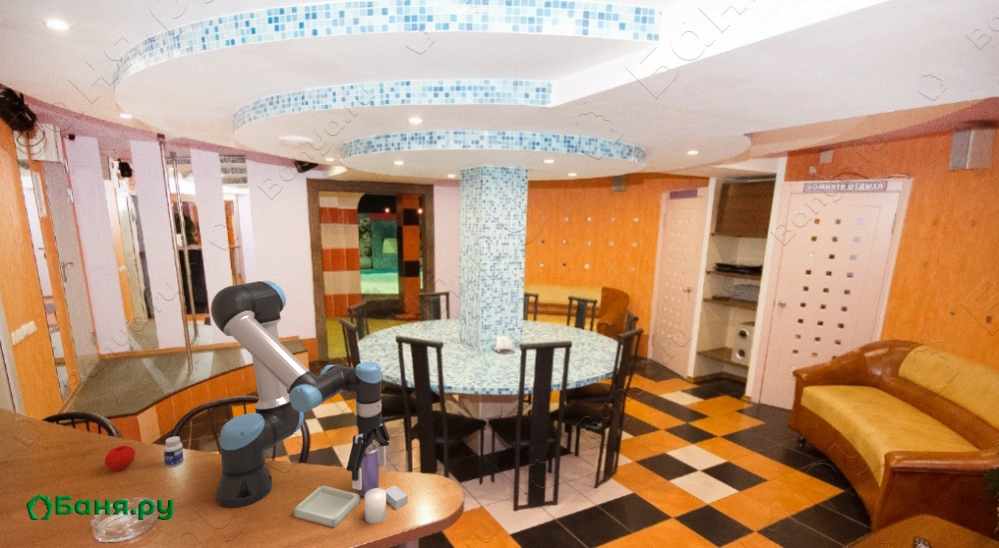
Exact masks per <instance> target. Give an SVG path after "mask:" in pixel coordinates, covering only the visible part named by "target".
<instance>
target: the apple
mask: <svg viewBox="0 0 999 548" xmlns="http://www.w3.org/2000/svg"><path fill="white" fill-rule="evenodd" d="M135 457H136V451H135V449H134V448H133V447H132V446H128V445H119V446H116V447H114V448H112V449H110V450H109V452H108V453H107V454H106V456H105V458H104V465H105V467H106V468H108V469H109V470H111V471H114V472H120V471H122V470H125V469H127V468H128V467H129V466H130V465H131V464H132V462H133V461H134V460H135Z"/></svg>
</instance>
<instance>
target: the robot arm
mask: <svg viewBox="0 0 999 548" xmlns="http://www.w3.org/2000/svg"><path fill="white" fill-rule="evenodd" d="M286 304H287V298H286V294H285V292H284V290H283V289H282V288H281V286H280V285H278V284H277V283H276V282H273V281H271V280H262V281H261V280H258V281H252V282H247V283H242V284H237V285H236V284H235V285H229V286H226V287H224V288H222V289H220V290H219V291H218V292H217V293H216V294H215V295H214V297H213V298H212V301H211V304H210V314H211V315H210V316H211V317H212V320H213V322H214V324H215V325H216V327H217V328H218V329H219V330H220V331H221V332H222V333H223V334H224V335H225V336H226V337H233V339H234V340H236V342H238V343H239V344H240V345H241V346H242V347H243V348H244V349H245V350H246V351H247V352H249V354H250V355H251V359H252V364H253V370H254V376H255V383H256V388H257V389H256V390H257V395H258V401H257V402H256V403H255V405H254V409H255V412H253V413H252V412H250V413H244V414H243V415H237V416H235V417H233V418H231V419H229V420H228V421H227V422H226V423H224V425H223V426H222V428H221V430H220V439H219V445H220V457H221V476H220V478H219V479H220V480H219V483H218V486H217V489H216V492H215V494H216V497H215V498H216V503H217V504H218V505H219V506H220V507H225V508H240V507H245V506H249V505H252V504H254V503H256V502H258V501H261V500H262V499H263V498H265V497H266V496H268V494H269V493H270V492H271V491H272V488H273V479H272V476H271V475H272V474H271V473H270V471H269V468H268V466H267V464H266V451H268V450H269V449H272V448H273V447H275V446H276V445H278V444H279V443H281V442H283V441H285V440H286V439H288V438H290V437H291V436H293V435H294V433H295V434H296V432H298V431H299V430H300V428H301V427H302V425H303V423H304V418H305V416H304V415H305V413H306V412H308V411H310V410H313V409H315V408H317V407H319V406H320V405H321V404H323V403H325V402H326V401H328V400H330V399H331V398H333V397H335V396H337V395H338V394H340V393H343V392H346V393H350V394H355V406H356V407H355V410H356V411H355V412H356V414H355V415H356V416H355V417H356V426H357V428H358V429H359V434H358V435H353V437H352V443H351V444H352V445H351V450H350V453H349V458H348V462H347V465H346V471H347V472H350V473H351V480H352V489H354V490H357V491H359V490H361V489H362V472H361V468H360V466H361V463H362V460H363V457H364V454H365V452H366V449H367V448H368V447H369V444H372V442H373V441H375V442H376V443H378V444H377V446H378V449H379V466H383V467H385V466H386V465H387V464H386V463H387V460H386V459H387V455H386V453H387V452H386V451H387V450H386V449H387V448H386V447H389V445H390V443H389V441H390V439H391V438H390V435H389V432H388V429H387V425H386V424H385V422H386V421H385V419H384V418H382V415H383V414H382V406H383V404H382V379H383V376H382V369H381V367H382V366H381V365H380V364H379V362H378V363H377V362H376V361H363V362H361V363H358V364H356V366H355V367H351V366H346V365H345V366H343V365H340V364H328V365H326V366H324V367H323V369H322V370H321V371H320V373H319V375H317V376H316V375H315V374H314V373H313V372H311V371H310V369H308V368H307V367H306V366H305V365H304V363H302V362H301V361H300V360H299V359H298V358H297V357H296V356H295V355H294V354H293V353H292V352H291V351H290V350H289V349H288V348H286V347H285V346H284V345H283V344H282V343H281V342H280V338H279V330H278V323H279V322H280V321H281V319H282V317H281V312H282V311H283V310H284V309H285V307H286ZM288 391H289V392H290V393H288Z"/></svg>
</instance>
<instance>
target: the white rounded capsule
mask: <svg viewBox="0 0 999 548" xmlns="http://www.w3.org/2000/svg"><path fill="white" fill-rule="evenodd" d="M385 490H386V489H384V488H381V487H379V488H374V489H371V490H369V491H367V492H366V494H365V497H364V520H365V521H366V522H367V523H369V524H378V523H380V522H383V521H384V520H385V518H386V517H387V501H386V491H385Z"/></svg>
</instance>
